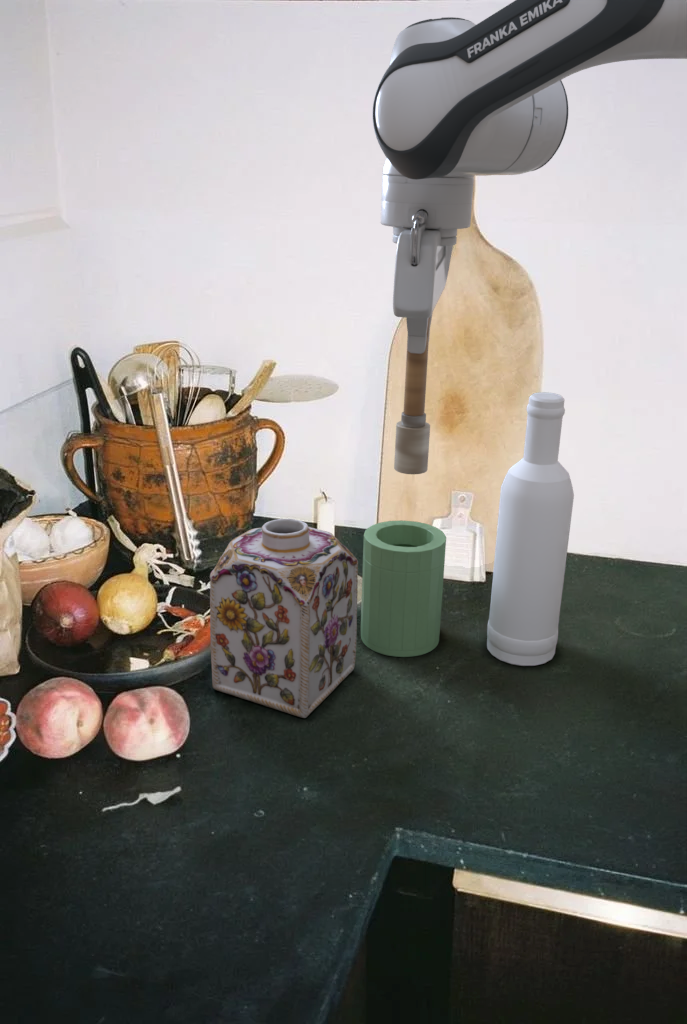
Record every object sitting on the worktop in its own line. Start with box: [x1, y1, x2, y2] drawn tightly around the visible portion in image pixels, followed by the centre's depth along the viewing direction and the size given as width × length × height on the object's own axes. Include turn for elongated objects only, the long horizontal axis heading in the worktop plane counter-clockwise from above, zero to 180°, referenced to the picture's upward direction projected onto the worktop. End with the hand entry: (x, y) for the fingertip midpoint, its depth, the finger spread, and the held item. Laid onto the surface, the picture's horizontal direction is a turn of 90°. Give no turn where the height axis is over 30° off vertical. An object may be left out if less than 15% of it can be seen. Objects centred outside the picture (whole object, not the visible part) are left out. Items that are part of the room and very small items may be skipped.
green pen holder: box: [360, 520, 447, 658], centre depth 108 cm, size 9×9×13 cm
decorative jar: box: [209, 518, 359, 719], centre depth 97 cm, size 12×12×18 cm
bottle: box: [486, 391, 575, 667], centre depth 103 cm, size 8×8×30 cm
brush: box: [393, 317, 431, 475], centre depth 98 cm, size 4×4×18 cm
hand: (418, 348), depth 96 cm, fingers closed on brush, 2 cm apart
